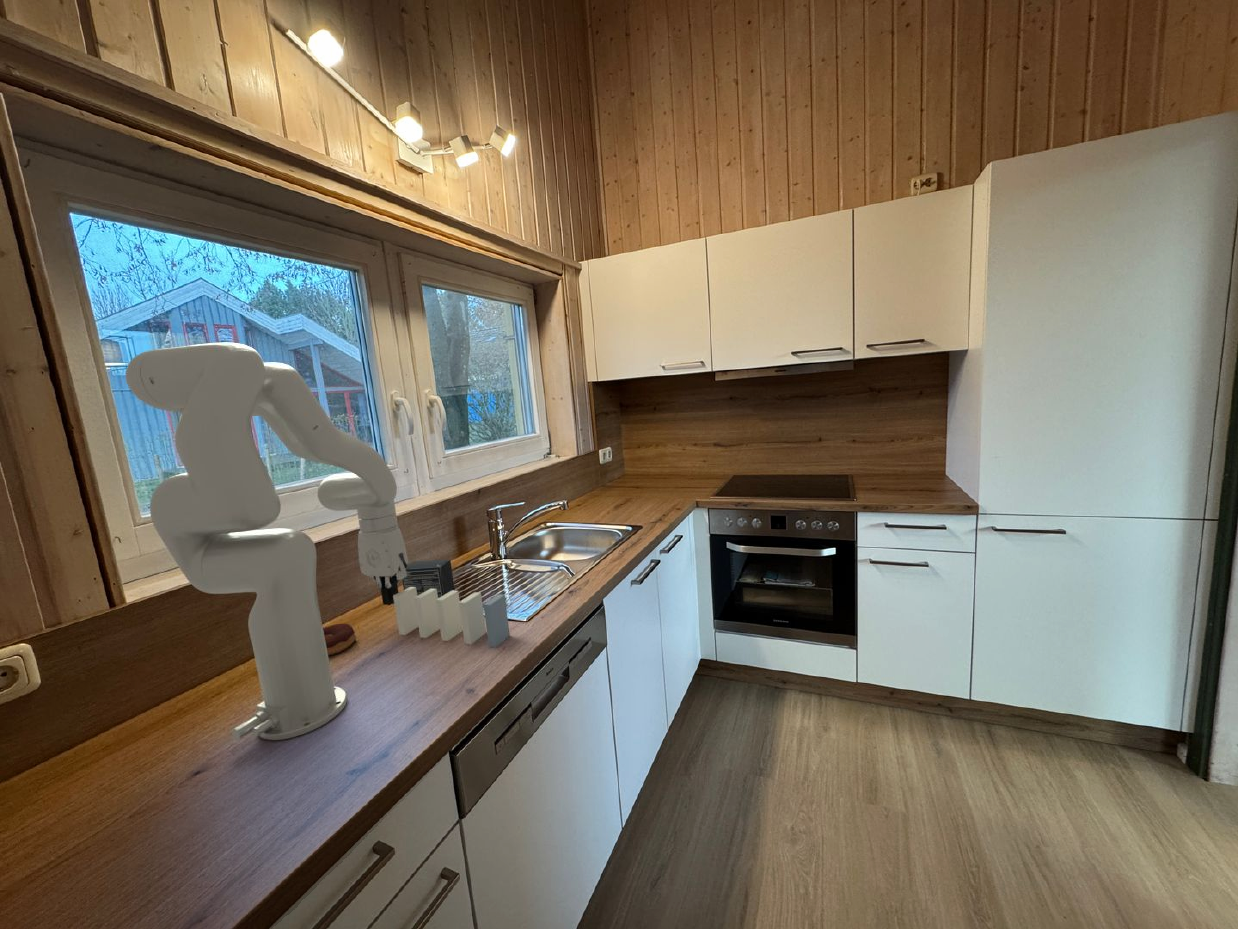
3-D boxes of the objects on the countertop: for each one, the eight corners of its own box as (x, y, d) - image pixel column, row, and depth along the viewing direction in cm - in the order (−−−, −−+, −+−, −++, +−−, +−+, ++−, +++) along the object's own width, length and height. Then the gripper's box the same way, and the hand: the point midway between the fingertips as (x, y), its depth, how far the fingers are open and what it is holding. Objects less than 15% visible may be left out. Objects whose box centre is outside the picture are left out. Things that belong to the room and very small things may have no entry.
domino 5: (489, 646, 99) (483, 604, 98) (503, 635, 104) (498, 594, 103) (495, 647, 99) (490, 605, 97) (509, 635, 103) (504, 594, 102)
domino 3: (463, 630, 108) (458, 590, 107) (448, 641, 103) (441, 600, 102) (458, 629, 108) (452, 590, 107) (442, 640, 104) (435, 599, 103)
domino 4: (486, 632, 106) (480, 592, 104) (471, 644, 101) (465, 602, 100) (480, 632, 106) (474, 592, 105) (464, 643, 102) (458, 602, 100)
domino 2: (442, 627, 110) (436, 589, 109) (425, 638, 106) (419, 598, 104) (436, 626, 111) (431, 588, 110) (420, 637, 106) (413, 597, 105)
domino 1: (421, 624, 113) (415, 587, 111) (404, 635, 108) (398, 596, 107) (416, 624, 113) (410, 586, 112) (399, 634, 109) (393, 595, 107)
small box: (457, 596, 127) (451, 557, 126) (446, 607, 121) (440, 566, 120) (418, 598, 129) (412, 560, 127) (405, 609, 122) (399, 569, 121)
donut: (292, 664, 100) (288, 646, 100) (317, 640, 110) (314, 623, 109) (343, 658, 101) (340, 639, 100) (364, 635, 110) (361, 618, 110)
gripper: (339, 527, 108) (353, 607, 111) (390, 528, 103) (404, 612, 105) (368, 518, 115) (380, 593, 118) (417, 519, 109) (429, 598, 112)
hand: (391, 602), depth 111 cm, fingers closed
